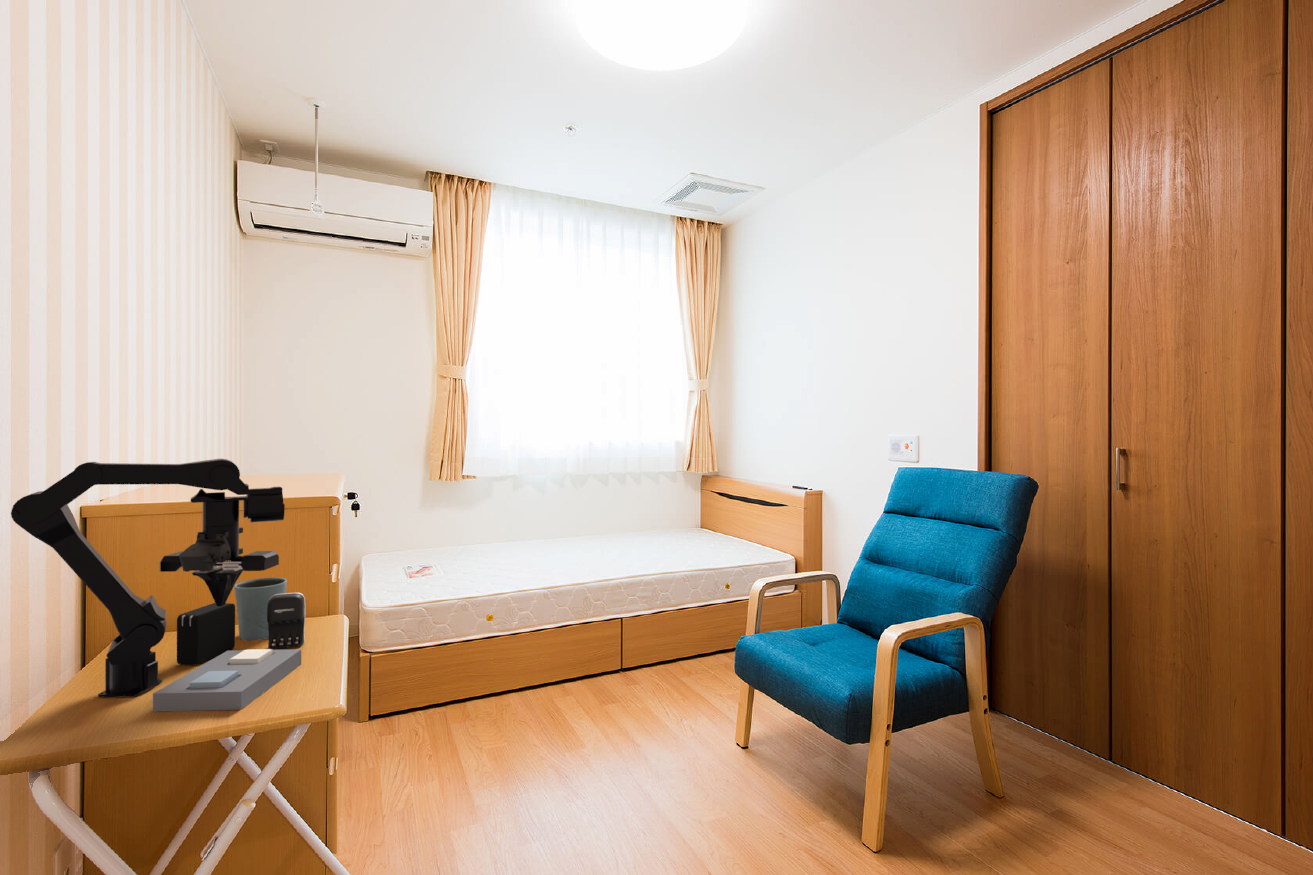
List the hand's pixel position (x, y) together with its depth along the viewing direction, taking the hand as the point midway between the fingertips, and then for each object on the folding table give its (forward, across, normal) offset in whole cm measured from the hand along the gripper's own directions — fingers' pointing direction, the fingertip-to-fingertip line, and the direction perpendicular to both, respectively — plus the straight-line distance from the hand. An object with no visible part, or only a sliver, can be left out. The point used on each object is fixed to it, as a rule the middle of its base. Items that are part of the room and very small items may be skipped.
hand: (220, 605), depth 117 cm
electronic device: (+13, -8, +9) cm, 18 cm away
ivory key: (+12, +6, 0) cm, 13 cm away
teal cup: (+13, -5, +23) cm, 27 cm away
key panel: (+13, +6, -6) cm, 16 cm away
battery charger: (+13, +5, +14) cm, 20 cm away
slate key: (+12, +6, -11) cm, 17 cm away
